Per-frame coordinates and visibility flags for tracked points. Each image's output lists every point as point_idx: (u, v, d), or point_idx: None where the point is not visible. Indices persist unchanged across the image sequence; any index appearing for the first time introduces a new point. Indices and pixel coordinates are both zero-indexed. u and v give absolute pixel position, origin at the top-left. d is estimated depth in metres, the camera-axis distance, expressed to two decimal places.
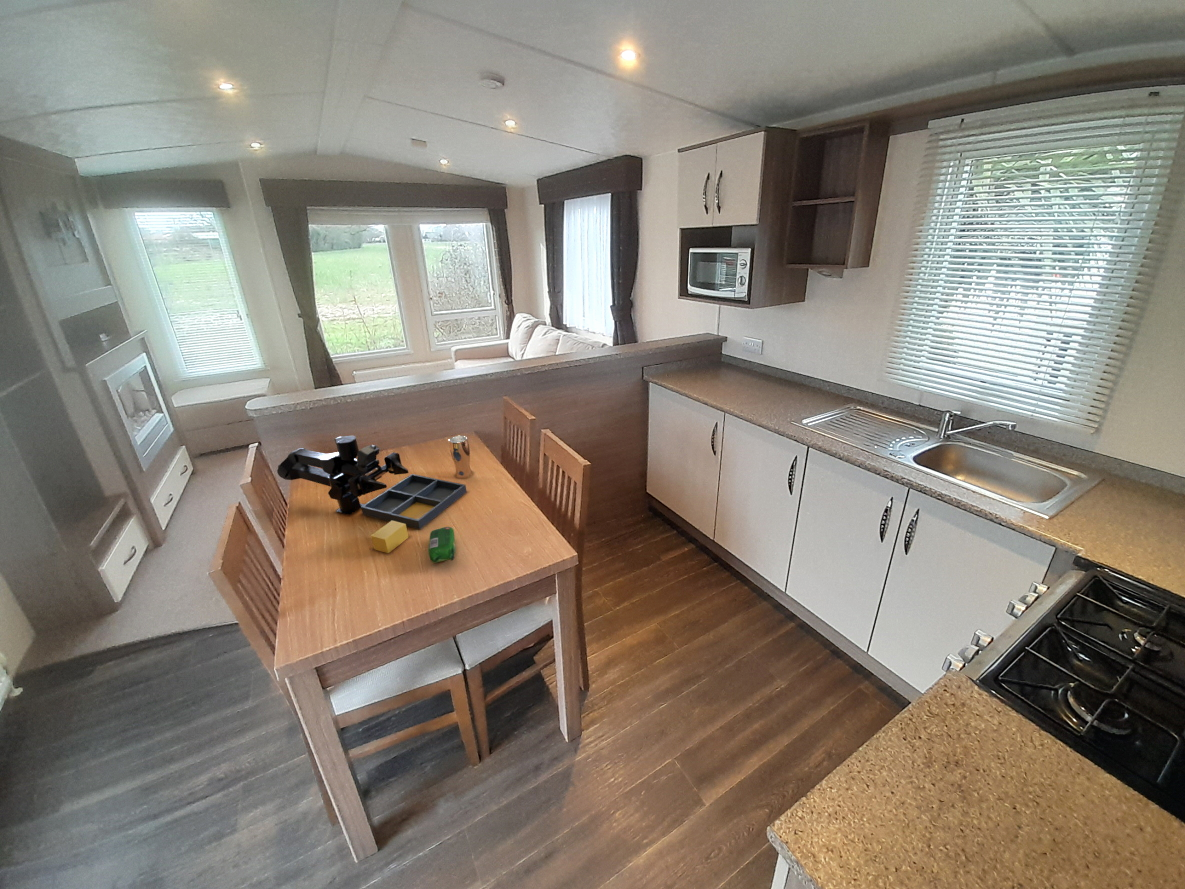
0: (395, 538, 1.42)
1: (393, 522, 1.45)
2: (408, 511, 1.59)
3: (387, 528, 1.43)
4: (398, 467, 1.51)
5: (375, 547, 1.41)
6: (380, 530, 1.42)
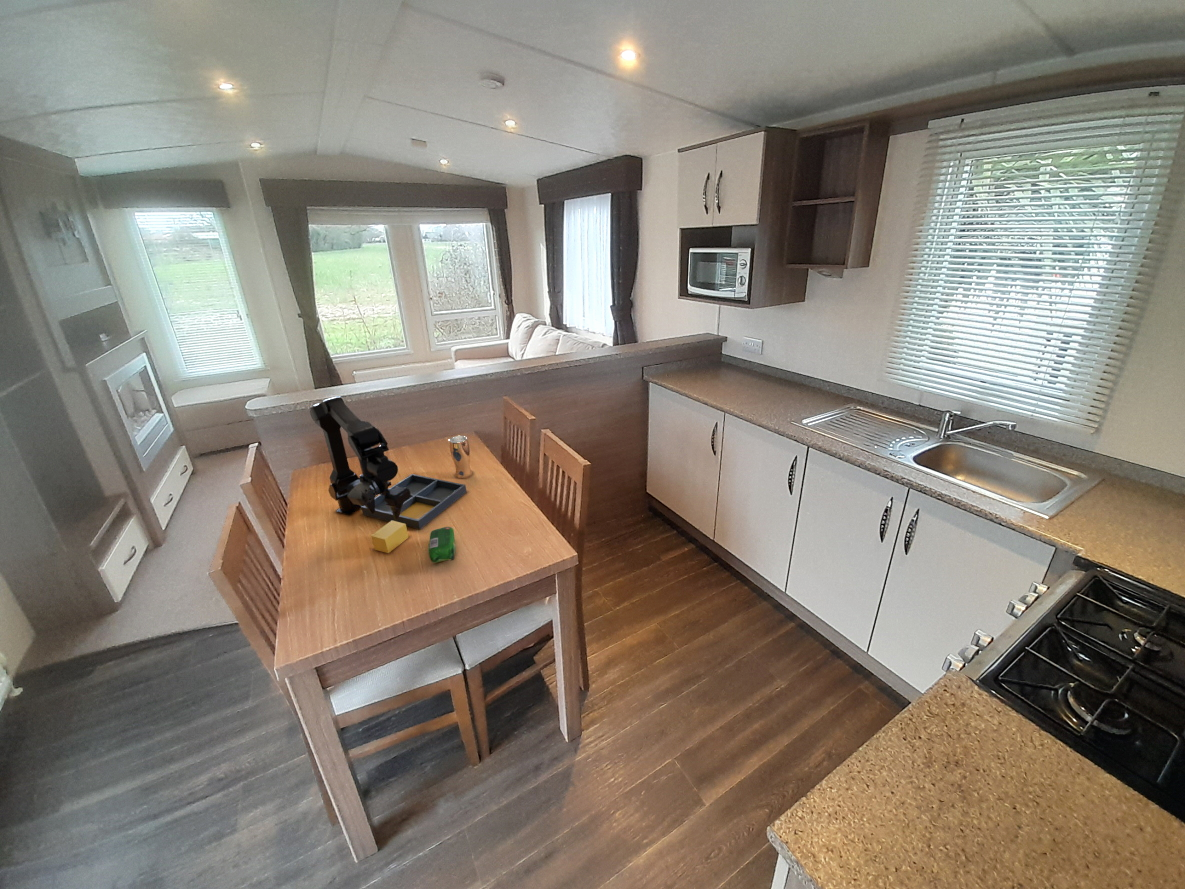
0: (395, 538, 1.42)
1: (393, 522, 1.45)
2: (408, 511, 1.59)
3: (387, 528, 1.43)
4: None
5: (375, 547, 1.41)
6: (380, 530, 1.42)
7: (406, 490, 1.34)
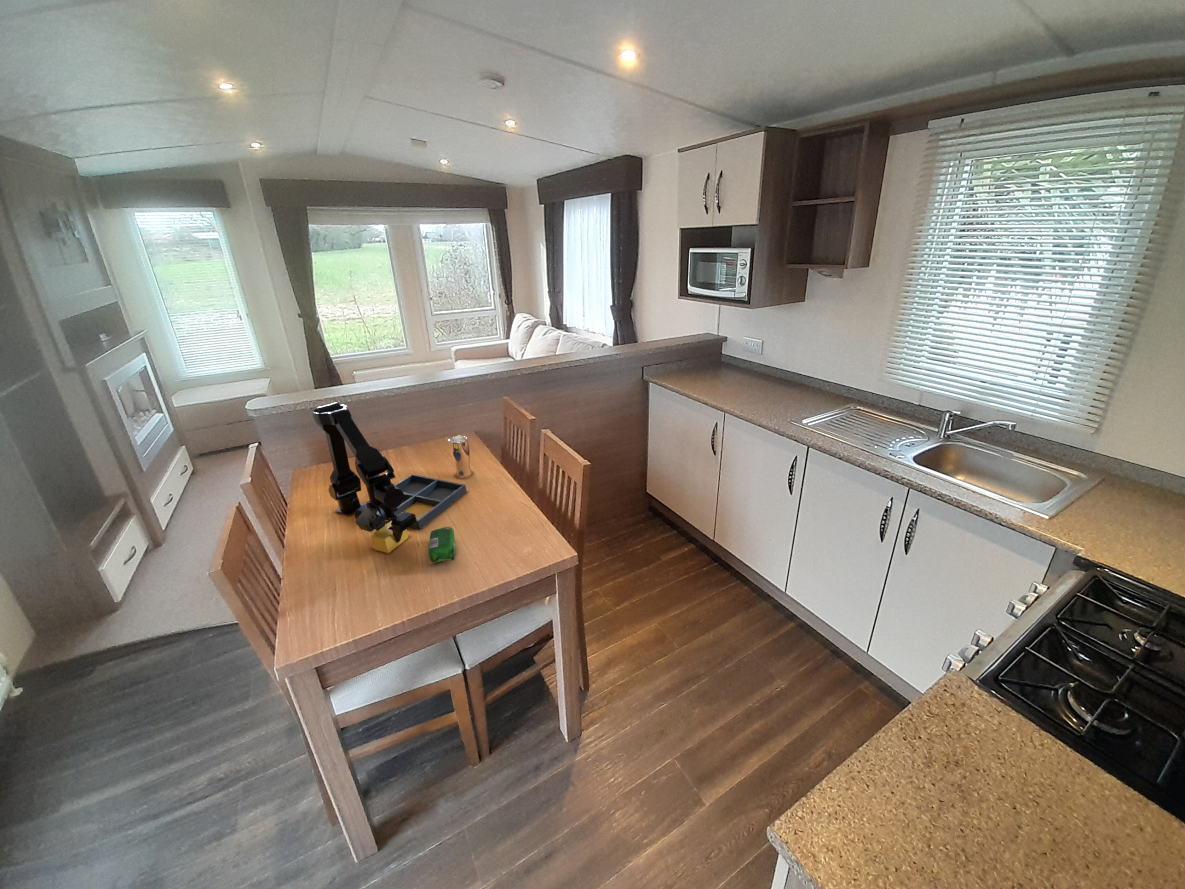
0: None
1: None
2: (408, 511, 1.59)
3: (387, 528, 1.43)
4: None
5: (375, 547, 1.41)
6: (380, 530, 1.42)
7: (412, 516, 1.38)
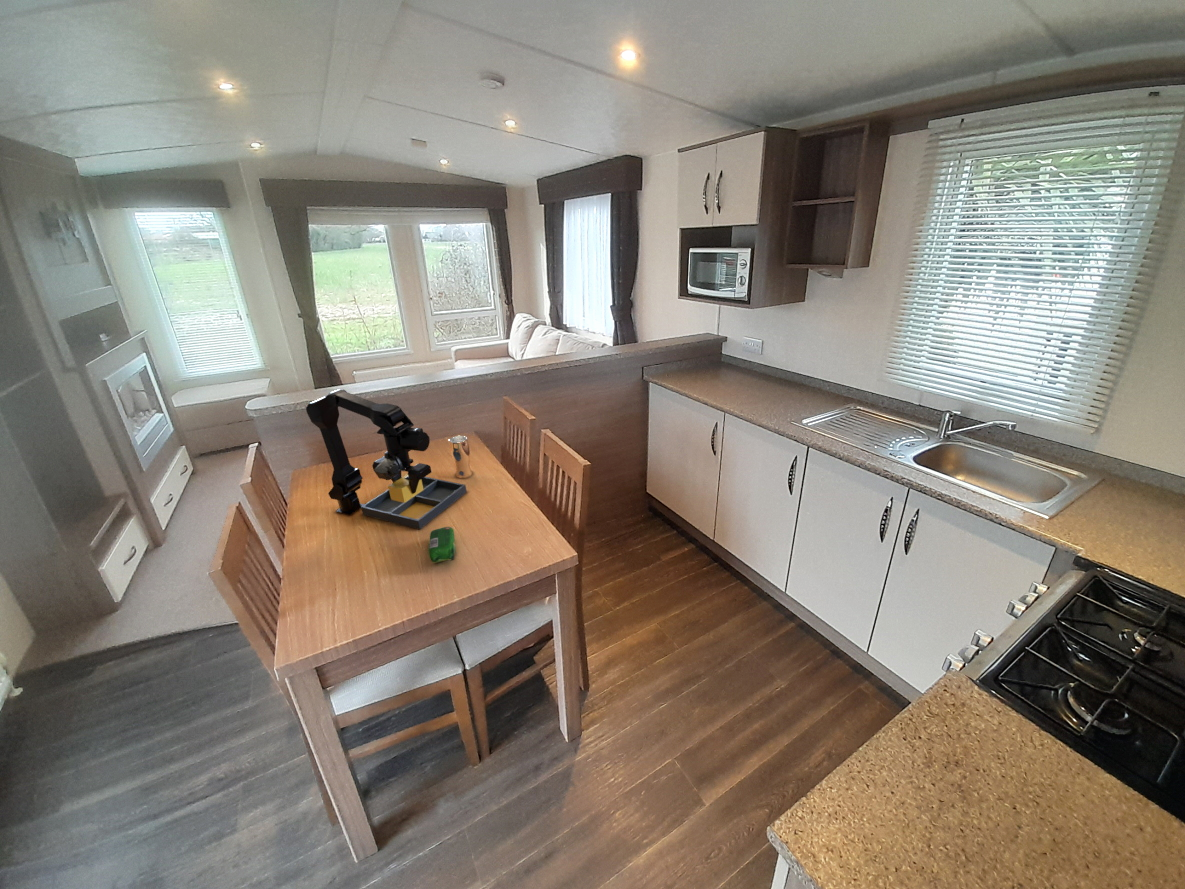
0: None
1: None
2: (408, 511, 1.59)
3: (404, 480, 1.50)
4: None
5: (392, 497, 1.48)
6: (397, 481, 1.49)
7: (427, 466, 1.45)
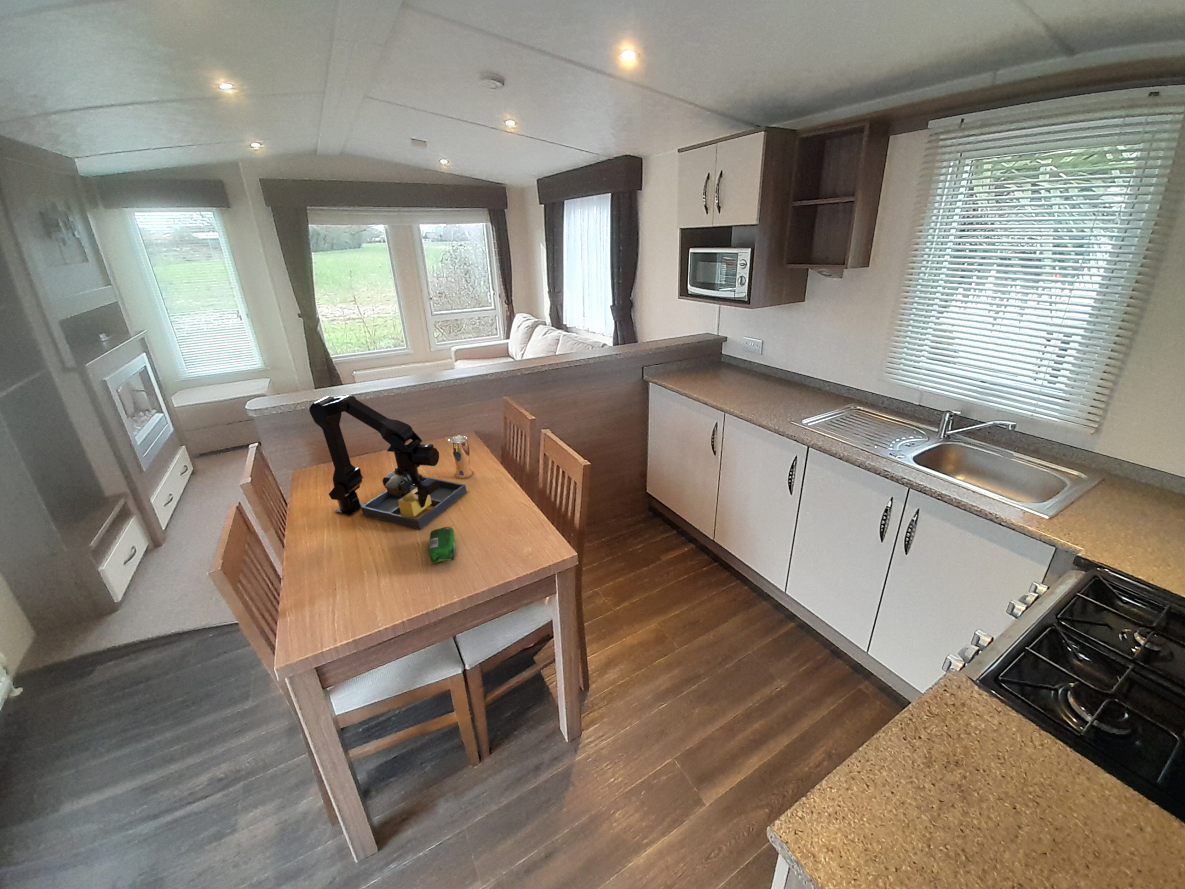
0: None
1: None
2: None
3: (413, 494, 1.55)
4: None
5: (401, 511, 1.54)
6: (406, 496, 1.55)
7: (436, 482, 1.50)
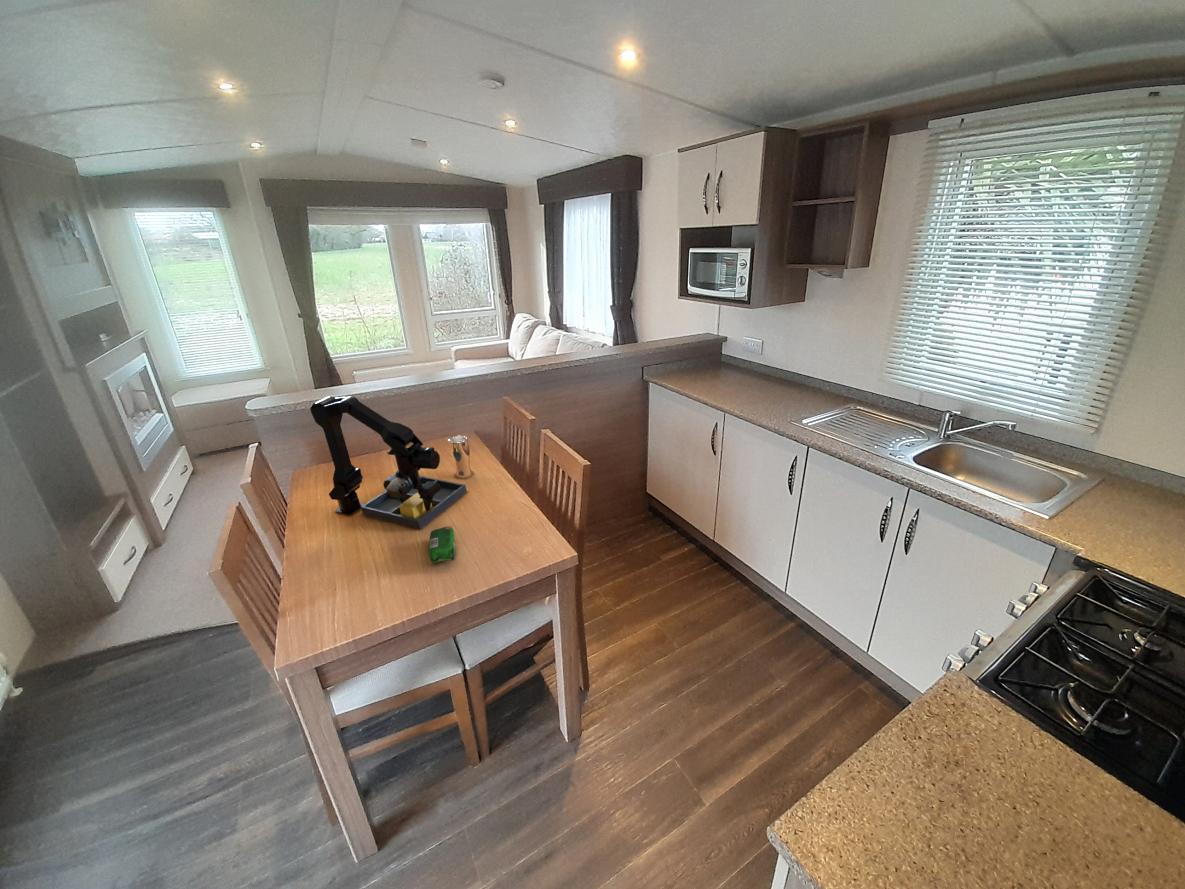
0: (421, 508, 1.55)
1: (418, 494, 1.59)
2: None
3: (414, 499, 1.56)
4: None
5: None
6: (407, 501, 1.55)
7: (437, 485, 1.51)
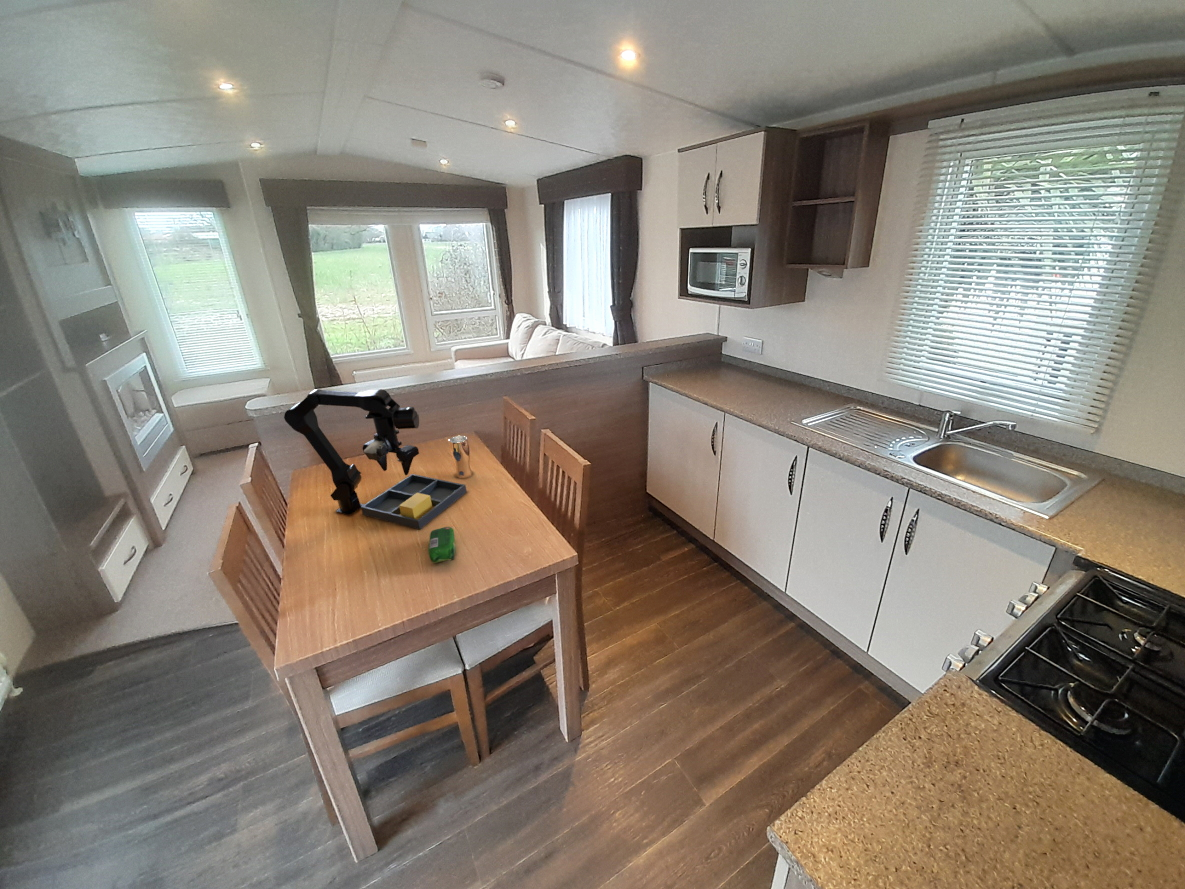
0: (421, 508, 1.55)
1: (418, 494, 1.59)
2: None
3: (414, 499, 1.56)
4: None
5: None
6: (407, 501, 1.55)
7: (415, 448, 1.52)
